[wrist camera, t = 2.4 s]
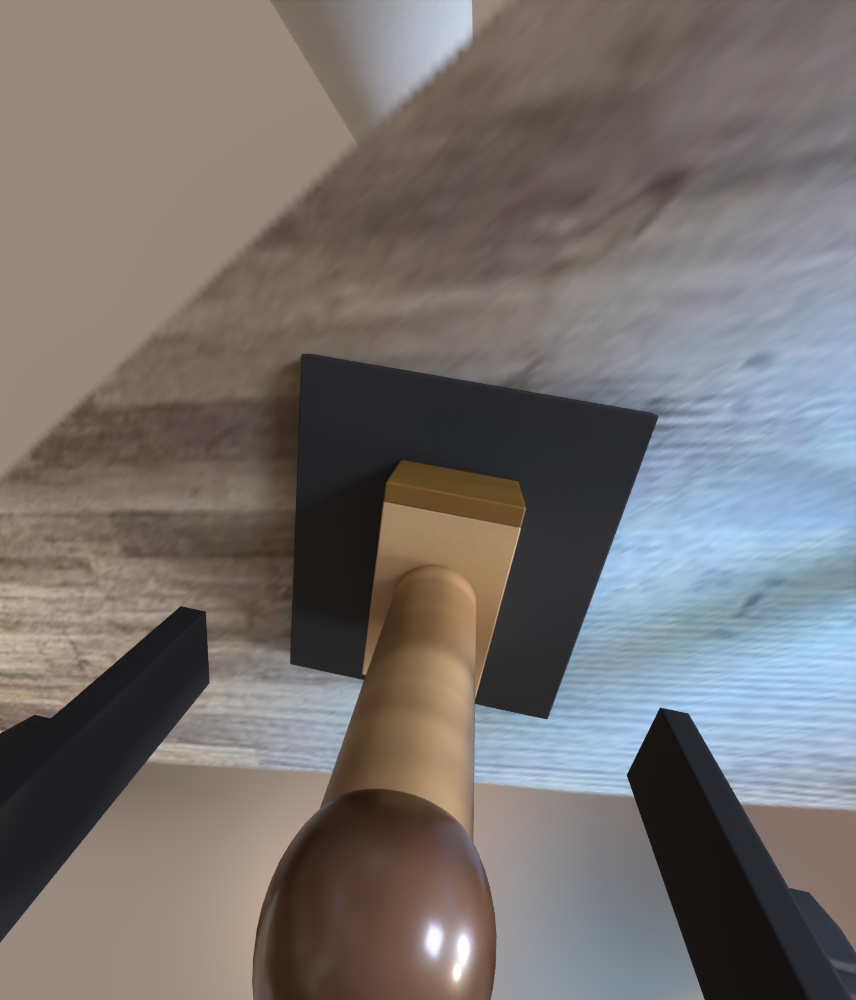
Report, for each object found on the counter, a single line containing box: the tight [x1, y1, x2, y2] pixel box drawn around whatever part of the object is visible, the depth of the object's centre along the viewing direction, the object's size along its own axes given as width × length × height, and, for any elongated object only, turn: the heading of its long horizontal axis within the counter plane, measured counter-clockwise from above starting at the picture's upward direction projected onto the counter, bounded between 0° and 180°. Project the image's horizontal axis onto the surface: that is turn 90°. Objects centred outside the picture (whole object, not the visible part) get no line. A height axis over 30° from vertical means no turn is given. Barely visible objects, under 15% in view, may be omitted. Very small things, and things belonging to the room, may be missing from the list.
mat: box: [290, 354, 658, 719], centre depth 19 cm, size 16×14×1 cm
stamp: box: [252, 460, 526, 1000], centre depth 12 cm, size 9×5×14 cm, turn 171°
